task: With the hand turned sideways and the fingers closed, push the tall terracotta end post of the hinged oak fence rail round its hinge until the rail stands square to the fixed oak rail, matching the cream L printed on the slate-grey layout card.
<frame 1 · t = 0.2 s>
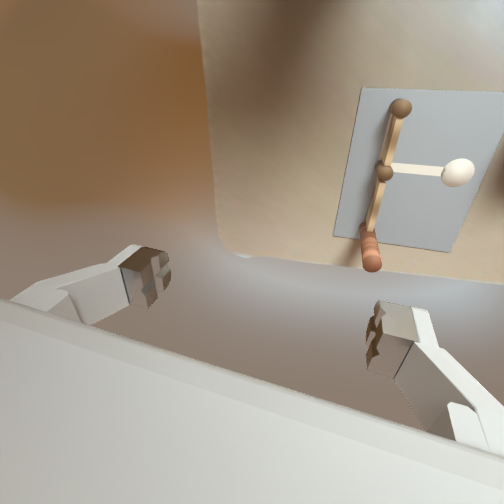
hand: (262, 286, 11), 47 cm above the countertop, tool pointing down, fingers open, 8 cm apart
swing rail: (375, 221, 49), point 8 cm above the countertop, hinge at 0.0°
layout card: (409, 177, 51), on the countertop
fixed rail: (381, 166, 51), resting on layout card
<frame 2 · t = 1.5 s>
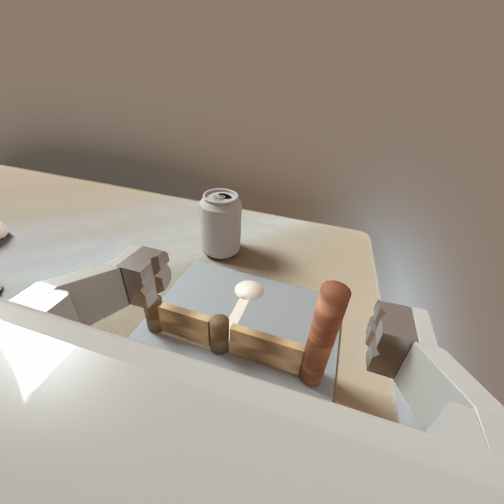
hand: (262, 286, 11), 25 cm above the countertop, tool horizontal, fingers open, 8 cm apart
can: (221, 251, 57), on the countertop
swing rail: (280, 326, 32), point 8 cm above the countertop, hinge at 0.0°
layout card: (243, 324, 41), on the countertop
fixed rail: (219, 348, 38), resting on layout card
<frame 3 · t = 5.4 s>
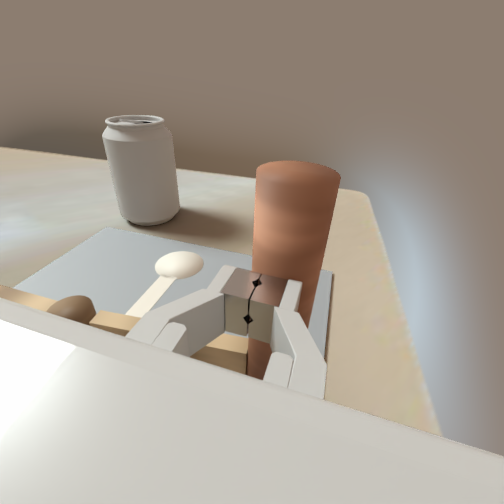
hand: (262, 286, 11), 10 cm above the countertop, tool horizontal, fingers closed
can: (152, 216, 38), on the countertop
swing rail: (188, 302, 14), point 8 cm above the countertop, hinge at 5.0°, touching gripper
layout card: (154, 318, 23), on the countertop
fixed rail: (93, 365, 19), resting on layout card
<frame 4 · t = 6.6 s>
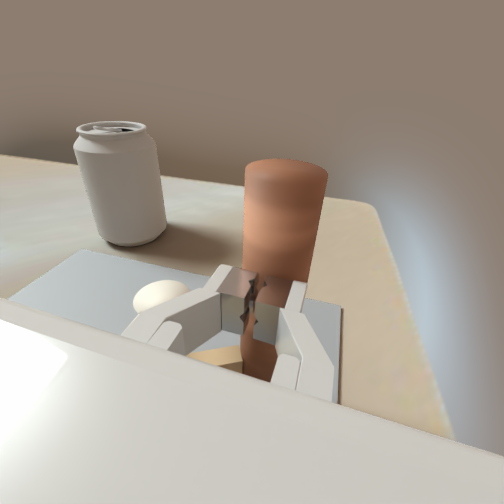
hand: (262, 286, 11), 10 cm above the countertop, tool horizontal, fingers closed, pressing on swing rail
can: (135, 234, 34), on the countertop
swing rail: (173, 330, 13), point 8 cm above the countertop, hinge at 29.7°, touching gripper
layout card: (127, 374, 19), on the countertop
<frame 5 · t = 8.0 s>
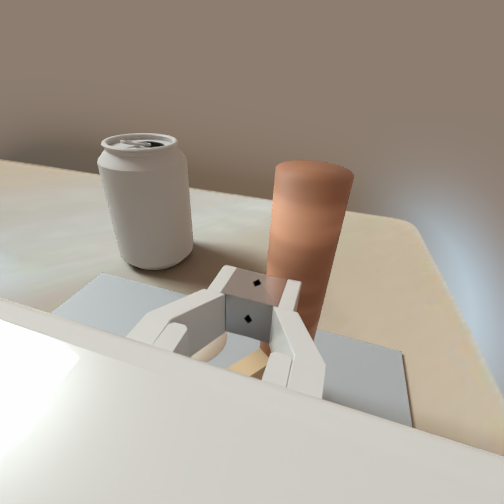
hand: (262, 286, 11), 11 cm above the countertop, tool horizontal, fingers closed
can: (159, 255, 31), on the countertop
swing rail: (212, 354, 12), point 8 cm above the countertop, hinge at 54.5°
layout card: (160, 441, 16), on the countertop
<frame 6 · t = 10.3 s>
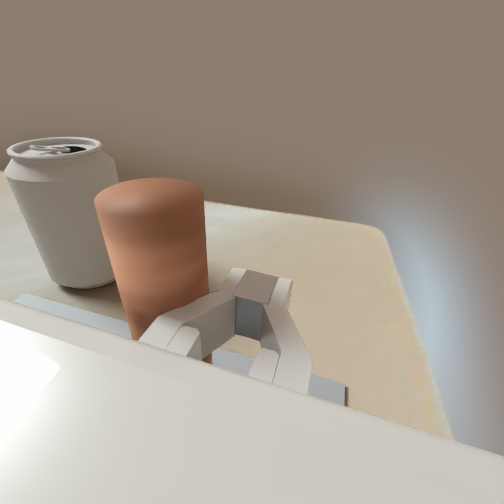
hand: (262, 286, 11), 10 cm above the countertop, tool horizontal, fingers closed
can: (97, 271, 28), on the countertop
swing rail: (48, 428, 9), point 8 cm above the countertop, hinge at 54.8°, touching gripper
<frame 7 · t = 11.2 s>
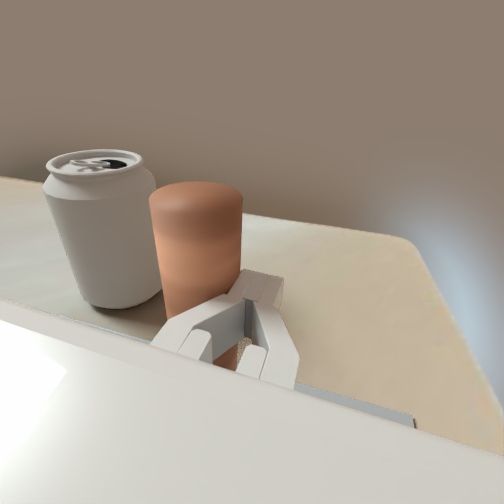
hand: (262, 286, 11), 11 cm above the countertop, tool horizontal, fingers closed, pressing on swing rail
can: (128, 288, 27), on the countertop
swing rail: (115, 441, 9), point 8 cm above the countertop, hinge at 73.8°, touching gripper
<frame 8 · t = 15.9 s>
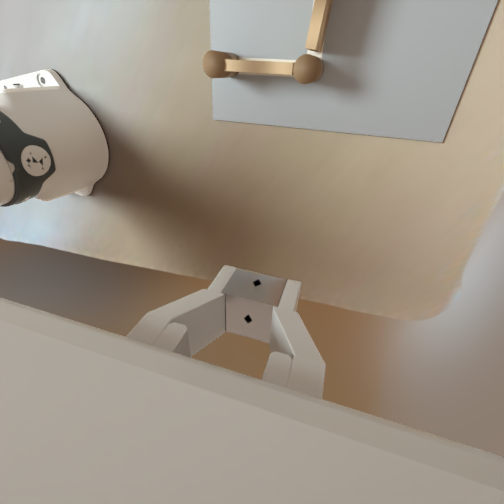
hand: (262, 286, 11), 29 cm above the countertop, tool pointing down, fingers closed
layout card: (336, 10, 28), on the countertop
fixed rail: (312, 69, 31), resting on layout card
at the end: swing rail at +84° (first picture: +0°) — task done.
